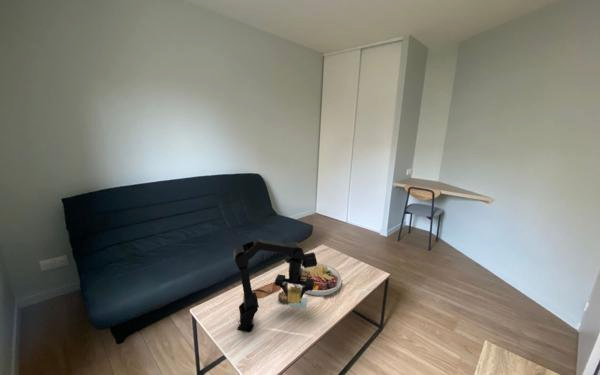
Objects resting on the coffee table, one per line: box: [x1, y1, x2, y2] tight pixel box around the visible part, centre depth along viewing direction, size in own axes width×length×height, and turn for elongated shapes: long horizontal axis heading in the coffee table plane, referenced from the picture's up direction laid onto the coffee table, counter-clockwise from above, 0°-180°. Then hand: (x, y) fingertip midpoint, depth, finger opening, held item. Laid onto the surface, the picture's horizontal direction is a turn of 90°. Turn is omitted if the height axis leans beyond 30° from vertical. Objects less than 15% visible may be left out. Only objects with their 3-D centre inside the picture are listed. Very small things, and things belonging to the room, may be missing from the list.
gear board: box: [276, 297, 309, 309], centre depth 129 cm, size 8×16×6 cm, turn 79°
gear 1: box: [277, 290, 291, 304], centre depth 129 cm, size 7×7×4 cm
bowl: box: [294, 262, 343, 297], centre depth 147 cm, size 30×30×8 cm
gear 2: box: [287, 285, 301, 304], centre depth 118 cm, size 7×7×5 cm
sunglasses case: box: [252, 281, 282, 300], centre depth 137 cm, size 18×7×7 cm, turn 129°
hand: (294, 297), depth 119 cm, fingers closed on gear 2, 7 cm apart
